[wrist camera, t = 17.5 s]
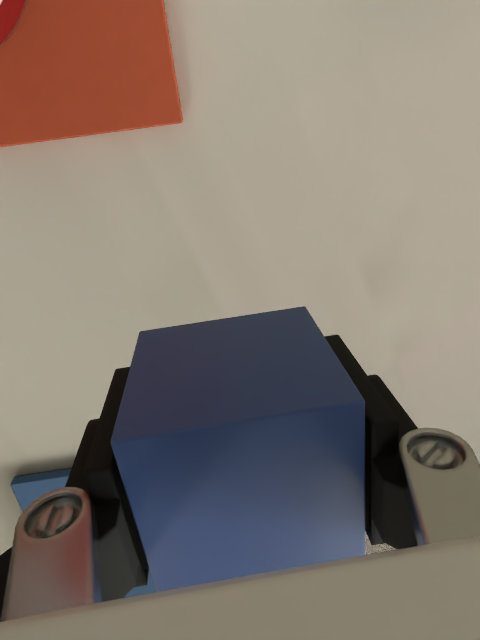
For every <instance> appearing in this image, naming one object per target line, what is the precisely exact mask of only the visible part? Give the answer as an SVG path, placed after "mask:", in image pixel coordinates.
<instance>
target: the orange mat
mask: <svg viewBox="0 0 480 640" xmlns="http://www.w3.org/2000/svg"><path fill="white" fill-rule="evenodd" d="M182 122H183V118H182V112H181V106H180V100H179V94H178V87H177V81H176V75H175V69H174V62H173V56H172V50H171V44H170V38H169V31H168V25H167V19H166V13H165V6H164V0H27V4H26V7H25V10H24V13H23V15H22V18H21V20H20V22H19V24H18V25H17V27H16V29H15V31H14V32H13V33H12V35H11V36H10V38H9V39H8V40H7V41H6V42H5V43H4V44H3V45H2V46H1V47H0V147H4V146H12V145H19V144H26V143H34V142H41V141H49V140H56V139H64V138H71V137H79V136H86V135H94V134H101V133H109V132H116V131H124V130H131V129H139V128H146V127H154V126H161V125H169V124H176V123H182Z"/></svg>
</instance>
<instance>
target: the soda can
mask: <svg viewBox="0 0 480 640" xmlns="http://www.w3.org/2000/svg"><path fill="white" fill-rule="evenodd" d="M26 4H27V0H0V47H1V46H2V45H3V44H4V43H5V42H6V41H7V40H8V39H9V38H10V36H11V35H12V33H13V32H14V31H15V29H16V27H17V25H18V24H19V22H20V20H21V18H22V15H23V13H24V10H25V7H26Z"/></svg>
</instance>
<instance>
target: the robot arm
mask: <svg viewBox="0 0 480 640" xmlns="http://www.w3.org/2000/svg"><path fill="white" fill-rule="evenodd" d="M325 339H326V340H327V342H328V343H329V345H330V347H331V348H332V350H333V351H334V353H335V355H336V356H337V358H338V359H339V361H340V362H341V364H342V366H343V367H344V369H345V370H346V372H347V373H348V375H349V377H350V378H351V380H352V381H353V383H354V384H355V386H356V388H357V389H358V391H359V392H360V394H361V396H362V397H363V399H364V400H365V531H366V533H367V535H368V537H369V540H370V542H371V544H372V545H377V544H383V543H386V544H388V545H390V546H392V547H394V548H395V550H392V551H386V552H381V553H375V554H369V555H363V556H357V557H351V558H346V559H340V560H334V561H328V562H322V563H317V564H311V565H305V566H300V567H294V568H288V569H283V570H277V571H271V572H266V573H260V574H254V575H249V576H243V577H238V578H232V579H226V580H221V581H215V582H209V583H204V584H198V585H193V586H187V587H182V588H176V589H171V590H165V591H160V592H154V593H149V594H143V595H138V596H132V597H127V598H125V596H126V594H127V593H128V592H129V591H130V590H131V589H132V588H133V587H139V586H144V585H147V582H148V573H149V566H148V562H147V559H146V556H145V553H144V550H143V546H142V543H141V540H140V537H139V533H138V530H137V527H136V524H135V521H134V517H133V514H132V511H131V508H130V504H129V501H128V498H127V495H126V492H125V488H124V485H123V482H122V479H121V475H120V472H119V469H118V466H117V463H116V459H115V456H114V453H113V450H112V446H111V443H110V442H111V438H112V434H113V430H114V427H115V423H116V419H117V415H118V411H119V408H120V404H121V400H122V396H123V393H124V389H125V385H126V381H127V378H128V374H129V370H130V367H126V368H119V369H116V370H115V373H114V376H113V379H112V382H111V385H110V388H109V391H108V394H107V397H106V400H105V403H104V407H103V410H102V413H101V416H100V419H94V420H90V421H89V422H88V424H87V427H86V429H85V432H84V435H83V438H82V441H81V443H80V446H79V449H78V452H77V455H76V457H75V460H74V463H73V466H72V468H71V471H70V474H69V477H68V480H67V482H66V485H65V487H63V488H59V489H55V490H53V491H50V492H48V493H46V494H44V495H42V496H41V497H39V498H37V499H36V500H34V501H33V502H32V503H31V504H30V505H29V506H28V507H27V508H26V509H25V510H24V511H23V513H22V514H21V516H20V517H19V519H18V522H17V525H16V528H15V534H14V540H13V546H12V547H11V548H10V549H8V550H7V551H6V552H4V553H3V554H2V555H0V640H480V464H479V462H478V460H477V458H476V456H475V453H474V451H473V450H472V448H471V447H470V446H469V444H468V443H467V442H466V441H465V440H463V439H462V438H461V437H459V436H457V435H455V434H453V433H451V432H449V431H445V430H441V429H437V428H419V429H418V428H417V426H416V425H415V424H414V422H413V421H412V420H411V418H410V417H409V416H408V414H407V413H406V412H405V410H404V409H403V408H402V406H401V405H400V404H399V402H398V401H397V400H396V398H395V397H394V396H393V394H392V393H391V392H390V390H389V389H388V388H387V386H386V385H385V384H384V382H383V381H382V380H381V378H380V377H379V376H378V375H369V376H367V375H366V373H365V372H364V370H363V369H362V368H361V366H360V365H359V363H358V362H357V361H356V359H355V358H354V356H353V355H352V353H351V352H350V351H349V349H348V348H347V346H346V345H345V344H344V342H343V341H342V339H341V338H340V336H339V335H332V336H325Z"/></svg>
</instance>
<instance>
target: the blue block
mask: <svg viewBox="0 0 480 640" xmlns="http://www.w3.org/2000/svg"><path fill="white" fill-rule="evenodd" d="M110 443H111V446H112V450H113V453H114V456H115V459H116V463H117V466H118V469H119V472H120V475H121V479H122V482H123V485H124V488H125V492H126V495H127V498H128V501H129V504H130V508H131V511H132V514H133V517H134V521H135V524H136V527H137V530H138V533H139V537H140V540H141V543H142V546H143V550H144V553H145V556H146V559H147V562H148V566H149V569H150V572H151V575H152V579H153V582H154V585H155V588H156V591H157V592H160V591H165V590H171V589H176V588H182V587H187V586H193V585H198V584H204V583H209V582H215V581H221V580H226V579H232V578H238V577H243V576H249V575H254V574H260V573H266V572H271V571H277V570H283V569H288V568H294V567H300V566H305V565H311V564H317V563H322V562H328V561H334V560H340V559H346V558H351V557H357V556H363V555H365V400H364V399H363V397H362V396H361V394H360V392H359V391H358V389H357V388H356V386H355V384H354V383H353V381H352V380H351V378H350V377H349V375H348V373H347V372H346V370H345V369H344V367H343V366H342V364H341V362H340V361H339V359H338V358H337V356H336V355H335V353H334V351H333V350H332V348H331V347H330V345H329V343H328V342H327V340H326V339H325V337H324V336H323V334H322V332H321V331H320V329H319V328H318V326H317V325H316V323H315V321H314V320H313V318H312V317H311V315H310V314H309V312H308V310H307V309H306V307H297V308H291V309H284V310H278V311H271V312H265V313H258V314H251V315H245V316H238V317H232V318H225V319H219V320H212V321H205V322H199V323H192V324H186V325H179V326H173V327H166V328H160V329H153V330H146V331H141V332H139V336H138V340H137V344H136V347H135V351H134V355H133V359H132V363H131V366H130V370H129V374H128V378H127V381H126V385H125V389H124V393H123V396H122V400H121V404H120V408H119V411H118V415H117V419H116V423H115V427H114V430H113V434H112V438H111V442H110Z"/></svg>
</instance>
